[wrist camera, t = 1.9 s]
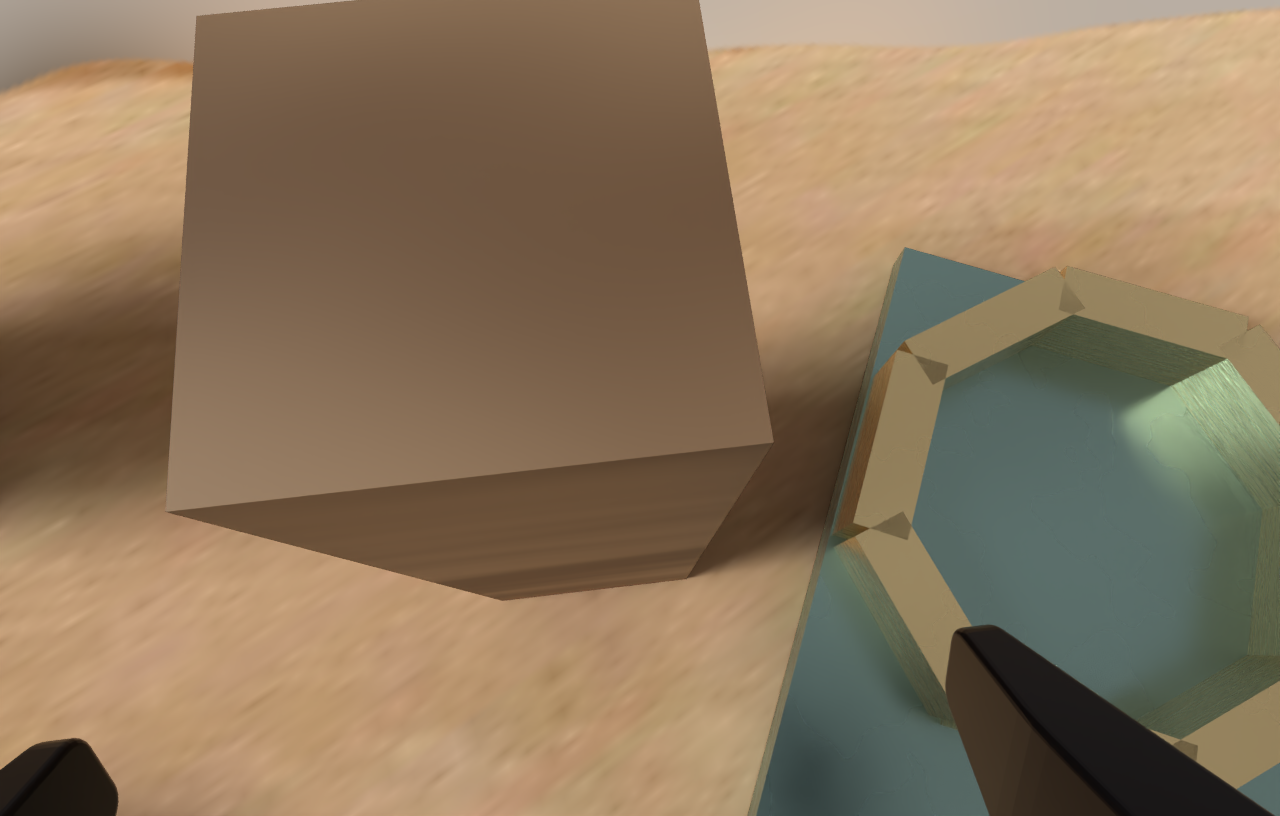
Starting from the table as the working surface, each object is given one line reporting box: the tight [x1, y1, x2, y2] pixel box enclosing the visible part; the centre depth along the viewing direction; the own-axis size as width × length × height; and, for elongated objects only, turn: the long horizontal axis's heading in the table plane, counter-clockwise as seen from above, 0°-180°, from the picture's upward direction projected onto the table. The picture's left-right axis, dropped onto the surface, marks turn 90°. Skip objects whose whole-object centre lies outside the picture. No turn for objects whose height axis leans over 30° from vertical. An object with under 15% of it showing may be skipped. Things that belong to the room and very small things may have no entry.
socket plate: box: [748, 247, 1280, 816], centre depth 17 cm, size 18×15×3 cm
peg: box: [165, 0, 774, 601], centre depth 13 cm, size 5×5×14 cm
